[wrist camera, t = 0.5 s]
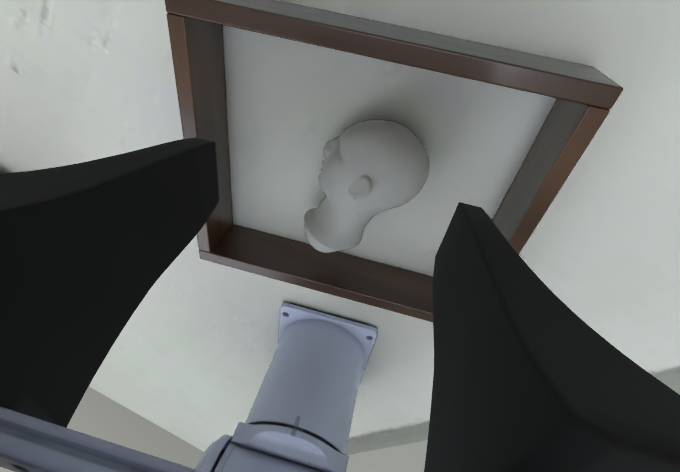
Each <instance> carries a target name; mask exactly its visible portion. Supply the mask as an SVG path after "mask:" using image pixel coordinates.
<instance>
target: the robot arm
mask: <svg viewBox="0 0 680 472" xmlns="http://www.w3.org/2000/svg"><path fill="white" fill-rule="evenodd" d="M219 201H220V197H219V184H218V170H217V157H216V143H215V142H213V141H208V140H204V139H200V138H187V139H182V140H177V141H172V142H168V143H164V144H160V145H156V146H152V147H148V148H144V149H140V150H136V151H132V152H128V153H124V154H120V155H115V156H111V157H106V158H102V159H97V160H93V161H88V162H84V163H78V164H73V165H67V166H62V167H55V168H48V169H41V170H34V171H26V172H15V173H5V174H0V467H3V468H6V469H9V470H12V471H15V472H346V469H347V464H348V458H349V456H348V455H346V454H345V453H346V448H347V443H348V438H349V432H350V427H351V422H352V417H353V411H354V406H355V401H356V396H357V391H358V386H359V383H360V381H361V378H362V375H363V372H364V370H365V367H366V364H367V361H368V359H369V356H370V353H371V350H372V348H373V345H374V342H375V340H376V337H377V332H378V331H377V329H376V328H374V327H372V326H368V325H364V324H361V323H357V322H354V321H350V320H346V319H343V318H339V317H336V316H332V315H328V314H325V313H321V312H318V311H314V310H311V309H307V308H303V307H300V306H296V305H293V304H289V303H283V304H282V305H281V308H280V319H279V334H278V346H277V349H276V351H275V353H274V356H273V358H272V361H271V363H270V365H269V368H268V370H267V373H266V375H265V377H264V380H263V382H262V384H261V387H260V389H259V392H258V394H257V396H256V399H255V401H254V403H253V406H252V408H251V411H250V413H249V415H248V418H247V420H246V423H242V422H239V423H238V426H237V428H236V430H235V433H234V435H233V437H232V436H230V435H223V436H222V437H220V438H219V439H218V440H217V441H215V442H213V443H212V444H211V445H210V446H209V447H208V448H207V450H206V451H205V453H204V454H203V456H202V457H201V459H200V461H199V462H198V464H197V467H196V468H195V469H192V468H189V467H186V466H183V465H180V464H177V463H174V462H171V461H167V460H164V459H161V458H158V457H155V456H152V455H149V454H146V453H143V452H139V451H136V450H133V449H130V448H127V447H124V446H121V445H118V444H115V443H112V442H108V441H105V440H102V439H99V438H96V437H92V436H90V435H87V434H84V433H80V432H77V431H74V430H71V429H68V428H66V427H67V425H68V423H69V421H70V419H71V417H72V415H73V414H74V412H75V410H76V408H77V406H78V404H79V403H80V401H81V399H82V397H83V395H84V393H85V391H86V390H87V388H88V386H89V384H90V382H91V381H92V379H93V377H94V375H95V374H96V372H97V370H98V369H99V367H100V365H101V364H102V362H103V360H104V359H105V357H106V355H107V353H108V352H109V350H110V348H111V347H112V345H113V343H114V342H115V340H116V339H117V337H118V336H119V334H120V333H121V331H122V329H123V328H124V326H125V325H126V323H127V322H128V320H129V319H130V317H131V315H132V314H133V313H134V311H135V310H136V308H137V307H138V305H139V304H140V302H141V301H142V300H143V298H144V297H145V295H146V294H147V292H148V291H149V289H150V288H151V287H152V286H153V284H154V283H155V282H156V281H157V279H158V278H159V277H160V276H161V274H162V273H163V272H164V271H165V270H166V269H167V268H168V267H169V265H170V264H171V263H172V262H173V261H174V260H175V259H176V257H177V256H178V255H179V254H180V253H181V252H182V251H183V249H184V248H185V247H186V246H187V245H188V244H189V243H190V241H191V240H192V239H193V238H194V237H195V236H196V234H197V233H198V232H199V231H200V230H201V229H202V227H203V226H204V225H205V223H206V222H207V220H208V219H209V217H210V216H211V214H212V213H213V211H214V209H215V208H216V206H217V204H218V202H219ZM432 293H433V326H434V377H433V390H432V403H431V413H430V424H429V434H428V445H427V452H426V461H425V470H424V472H680V395H679V394H678V393H676V392H675V391H673V390H672V389H671V388H669V387H668V386H666V385H665V384H663V383H662V382H661V381H659V380H658V379H656V378H655V377H654V376H652V375H651V374H649V373H648V372H647V371H645V370H644V369H642V368H641V367H640V366H638V365H637V364H636V363H634V362H633V361H632V360H630V359H629V358H628V357H626V356H625V355H624V354H622V353H621V352H620V351H619V350H617V349H616V348H615V347H614V346H612V345H611V344H610V343H609V342H608V341H606V340H605V339H604V338H603V337H601V336H600V335H599V334H598V333H596V332H595V331H594V330H593V329H592V328H590V327H589V326H588V325H587V324H586V323H585V322H584V321H582V320H581V319H580V318H579V317H578V316H577V315H576V314H575V313H574V312H572V311H571V310H570V309H569V308H568V307H567V306H566V305H565V304H564V303H563V302H562V301H561V300H560V299H559V298H558V297H557V296H556V295H555V294H554V293H553V292H552V291H551V290H550V289H549V288H548V287H547V286H546V285H545V284H544V283H543V282H542V281H541V280H540V279H539V278H538V277H537V275H536V274H535V273H534V272H533V271H532V270H531V269H530V268H529V267H528V265H527V264H526V263H525V262H524V261H523V260H522V258H521V257H520V256H519V255H518V253H517V252H516V251H515V250H514V249H513V247H512V246H511V245H510V244H509V242H508V241H507V240H506V238H505V237H504V236H503V234H502V233H501V232H500V231H499V229H498V228H497V227H496V225H495V224H494V223H493V221H492V220H491V219H490V217H489V216H488V215H487V214H486V213H485V211H484V210H483V209H482V208H481V207H476V206H472V205H468V204H464V203H460V202H459V204H458V206H457V208H456V211H455V213H454V215H453V218H452V220H451V222H450V225H449V227H448V229H447V231H446V234H445V236H444V238H443V241H442V243H441V245H440V247H439V250H438V252H437V254H436V257H435V266H434V274H433V284H432Z"/></svg>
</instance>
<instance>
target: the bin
mask: <svg viewBox="0 0 680 472" xmlns="http://www.w3.org/2000/svg"><path fill="white" fill-rule="evenodd" d="M165 5H166V11H167V12H168V13H167V20H168V28H169V35H170V42H171V50H172V57H173V64H174V71H175V79H176V86H177V93H178V101H179V108H180V115H181V123H182V130H183V137H184V139H187V138H200V139H204V140H208V141H213V142H215V143H216V157H217V170H218V184H219V197H220V201H219V202H218V204H217V206H216V208H215V209H214V211H213V213H212V214H211V216H210V217H209V219H208V220H207V222H206V223H205V225H204V226H203V227H202V229H201V230H200V231H199V232H198V233H197V239H198V247H199V254H200V258H201V259H204V260H207V261H211V262H215V263H218V264H222V265H226V266H229V267H233V268H237V269H240V270H244V271H248V272H251V273H255V274H258V275H262V276H266V277H269V278H273V279H277V280H280V281H284V282H288V283H291V284H295V285H299V286H302V287H306V288H310V289H313V290H317V291H321V292H324V293H328V294H332V295H335V296H339V297H343V298H346V299H350V300H354V301H357V302H361V303H364V304H368V305H372V306H375V307H379V308H383V309H386V310H390V311H394V312H397V313H401V314H405V315H408V316H412V317H416V318H419V319H423V320H427V321H430V322H433V293H432V284H433V277H430V276H426V275H422V274H419V273H415V272H411V271H407V270H403V269H400V268H396V267H392V266H388V265H384V264H381V263H377V262H373V261H369V260H366V259H362V258H358V257H354V256H350V255H347V254H343V253H339V252H330V253H324V252H320V251H318V250H316V249H315V248H314V247H312V246H311V245H309V244H305V243H301V242H297V241H294V240H290V239H286V238H282V237H278V236H275V235H271V234H267V233H263V232H259V231H256V230H252V229H248V228H244V227H240V226H237V225H233V224H232V206H231V187H230V168H229V150H228V131H227V112H226V93H225V74H224V56H223V37H222V25H226V26H230V27H235V28H240V29H244V30H249V31H253V32H258V33H262V34H267V35H271V36H276V37H281V38H285V39H290V40H294V41H299V42H303V43H308V44H312V45H317V46H322V47H326V48H331V49H335V50H340V51H344V52H349V53H354V54H358V55H363V56H367V57H372V58H376V59H381V60H385V61H390V62H395V63H399V64H404V65H408V66H413V67H417V68H422V69H426V70H431V71H436V72H440V73H445V74H449V75H454V76H458V77H463V78H468V79H472V80H477V81H481V82H486V83H490V84H495V85H499V86H504V87H509V88H513V89H518V90H522V91H527V92H531V93H536V94H540V95H545V96H550V97H554V98H557V100H556V102H555V104H554V106H553V108H552V110H551V112H550V113H549V115H548V117H547V119H546V121H545V123H544V125H543V127H542V128H541V130H540V132H539V134H538V136H537V138H536V140H535V142H534V144H533V145H532V147H531V149H530V151H529V153H528V155H527V157H526V159H525V161H524V162H523V164H522V166H521V168H520V170H519V172H518V174H517V176H516V178H515V179H514V181H513V183H512V185H511V187H510V189H509V191H508V193H507V194H506V196H505V198H504V200H503V202H502V204H501V206H500V208H499V210H498V211H497V213H496V215H495V217H494V219H493V223H494V224H495V225H496V227H497V228H498V229H499V231H500V232H501V233H502V234H503V236H504V237H505V238H506V240H507V241H508V242H509V244H510V245H511V246H512V247H513V249H514V250H515V251H516V252H517V253H518V255H519V253H520V251H521V250H522V248H523V247H524V245H525V244H526V242H527V240H528V239H529V237H530V236H531V234H532V233H533V231H534V229H535V228H536V226H537V225H538V223H539V222H540V220H541V218H542V217H543V215H544V214H545V212H546V211H547V209H548V207H549V206H550V204H551V203H552V201H553V200H554V198H555V196H556V195H557V193H558V192H559V190H560V189H561V187H562V185H563V184H564V182H565V181H566V179H567V178H568V176H569V174H570V173H571V171H572V170H573V168H574V167H575V165H576V163H577V162H578V160H579V159H580V157H581V156H582V154H583V152H584V151H585V149H586V148H587V146H588V145H589V143H590V141H591V140H592V138H593V137H594V135H595V134H596V132H597V130H598V129H599V127H600V126H601V124H602V123H603V121H604V119H605V118H606V116H607V115H608V113H609V111H610V110H609V109H611V108H612V106H613V105H614V103H615V102H616V100H617V99H618V97H619V95H620V94H621V92H622V91H623V88H622V87H621V86H620V85H618V84H617V83H615V82H614V81H613V80H611V79H610V78H608V77H607V76H606V75H604V74H603V73H601V72H600V71H598V70H597V69H596V68H594V67H591V66H586V65H581V64H577V63H572V62H567V61H562V60H558V59H553V58H548V57H543V56H539V55H534V54H529V53H524V52H520V51H515V50H510V49H506V48H501V47H496V46H491V45H487V44H482V43H477V42H472V41H468V40H463V39H458V38H453V37H449V36H444V35H439V34H435V33H430V32H425V31H420V30H416V29H411V28H406V27H401V26H397V25H392V24H387V23H382V22H378V21H373V20H368V19H363V18H359V17H354V16H349V15H345V14H340V13H335V12H330V11H326V10H321V9H316V8H311V7H307V6H302V5H297V4H292V3H288V2H283V1H278V0H165Z"/></svg>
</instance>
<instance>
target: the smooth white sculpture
mask: <svg viewBox="0 0 680 472" xmlns="http://www.w3.org/2000/svg"><path fill="white" fill-rule="evenodd" d="M324 154H325V158H324V160H323V167H322V170H321V173H320V174H319V176H318V182H319V185H320V186H321V188H322V190H323V191H324V193H325V194H326V197H325V199H324V200H323V201H322V202H321V204H320V205H319V206H318V207H317V208H313V209H310V210H309V211H307V212H306V214H305V217H304V222H305V234H306V237H307V239H308V241H309V243H310V244H311V246H312V247H314V248H315V249H316V250H318V251H320V252H324V253H330V252H335V251H340V250H345V249H350V248H352V247H355V246H356V245H358V244H359V242H360V241H361V238H362V234H363V231H364V228H365V226H366V225H367V223H368V222H369V220H370V219H371V218H372V217H373V216H374V215H375V214H377V213H378V212H380V211H383V210H387V209H392V208H395V207H398V206H400V205H403V204H405V203H406V202H408V201H410V200H411V199H412V198H413V197H415V196H416V195H417V194H418V193H419V191H420V190H421V189H422V187H423V186H424V184H425V182H426V180H427V177H428V173H429V158H428V154H427V152H426V149H425V147H424V146H423V144H422V143H421V141H420V140H419V139H418V138H417V137H416V136H415V135H414V134H413V133H412V132H411V131H410V130H408V129H407V128H406V127H404V126H402V125H400V124H398V123H395V122H391V121H385V120H368V121H362V122H358V123H356V124H353V125H351V126H350V127H348V128H347V129H346V130H345V131H344V132H343V133H342V135H341V136H339V137H337V138H335V139H333V140H331V141H329V142H328V143H327V144H326V145H325V147H324Z"/></svg>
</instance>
